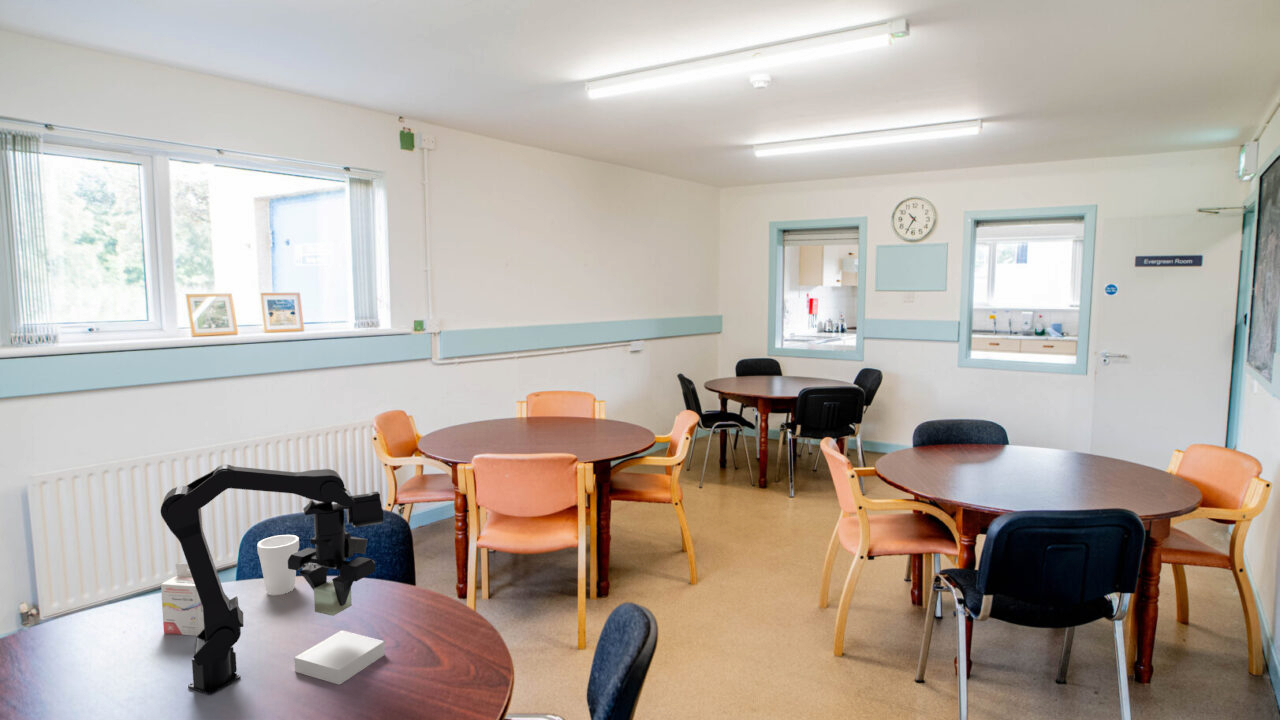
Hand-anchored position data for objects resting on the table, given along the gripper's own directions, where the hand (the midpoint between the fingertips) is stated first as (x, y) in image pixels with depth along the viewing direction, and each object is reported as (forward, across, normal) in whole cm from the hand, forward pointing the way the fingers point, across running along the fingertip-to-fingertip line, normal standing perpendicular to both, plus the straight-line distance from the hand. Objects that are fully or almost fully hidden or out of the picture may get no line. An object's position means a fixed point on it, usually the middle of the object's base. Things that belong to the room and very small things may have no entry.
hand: (333, 603), depth 141 cm
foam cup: (+11, +37, -19) cm, 43 cm away
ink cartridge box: (+11, +39, +4) cm, 41 cm away
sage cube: (+1, 0, 0) cm, 1 cm away
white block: (+11, -4, +3) cm, 12 cm away
